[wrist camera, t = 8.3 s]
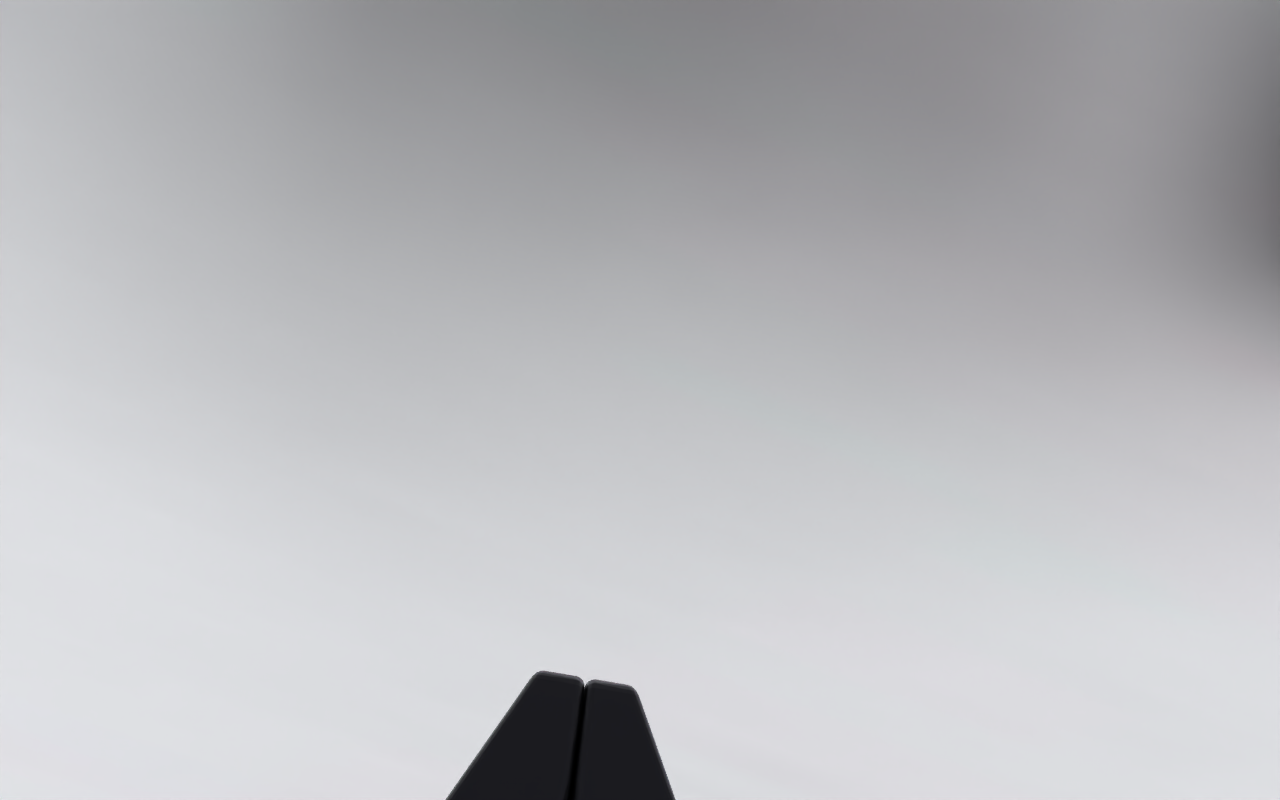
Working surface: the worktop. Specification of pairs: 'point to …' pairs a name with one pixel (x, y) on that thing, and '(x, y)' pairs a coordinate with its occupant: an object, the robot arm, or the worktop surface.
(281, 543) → the worktop surface
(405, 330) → the worktop surface
